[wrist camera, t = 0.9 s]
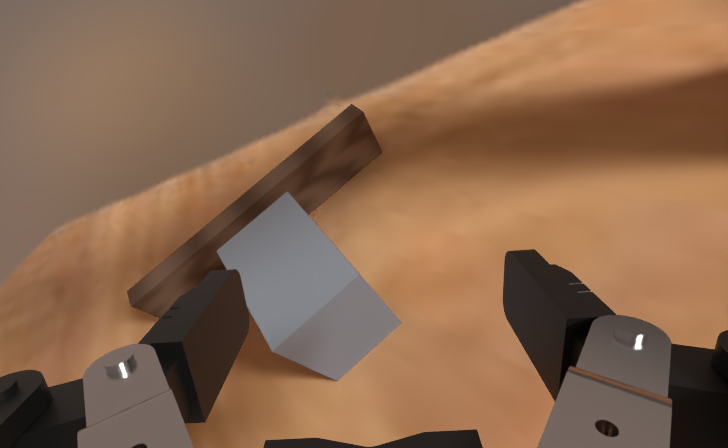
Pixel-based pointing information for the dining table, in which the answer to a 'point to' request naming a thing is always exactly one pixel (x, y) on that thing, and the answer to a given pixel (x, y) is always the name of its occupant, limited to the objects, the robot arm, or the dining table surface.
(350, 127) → the walnut board
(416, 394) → the dining table surface
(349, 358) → the slate block
